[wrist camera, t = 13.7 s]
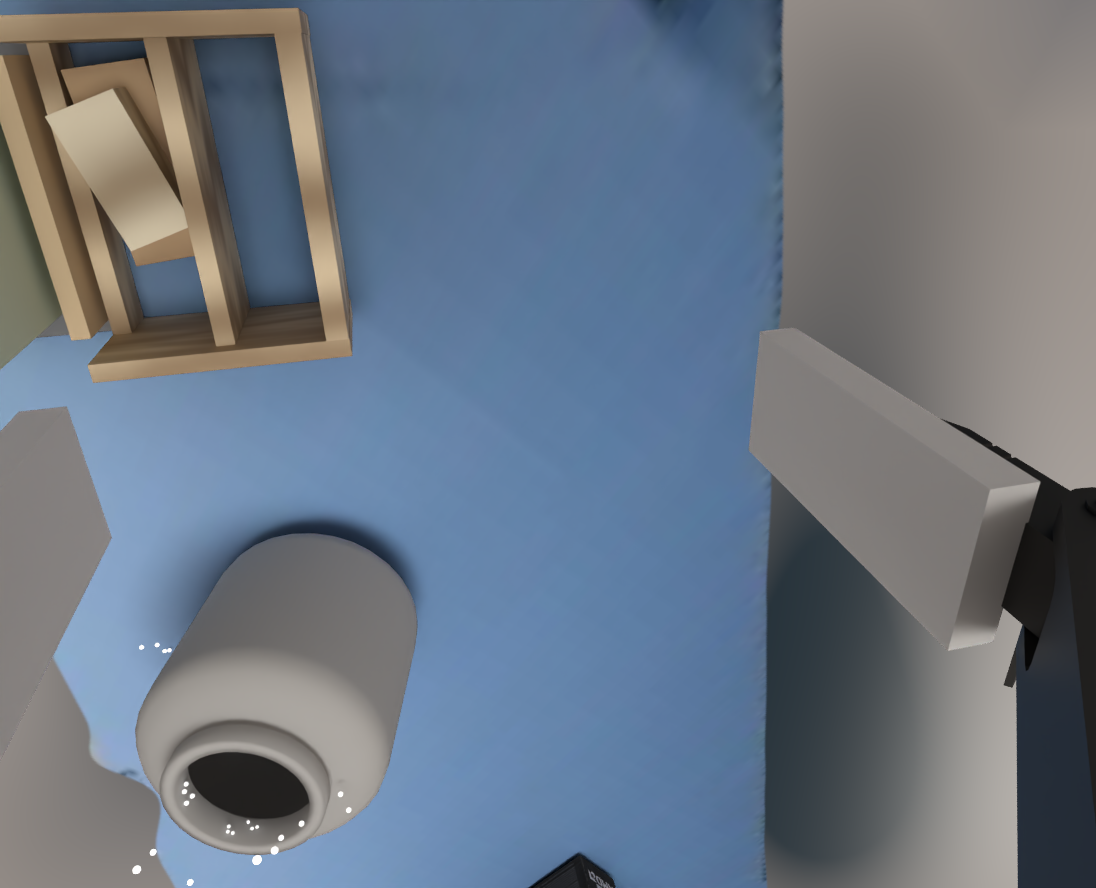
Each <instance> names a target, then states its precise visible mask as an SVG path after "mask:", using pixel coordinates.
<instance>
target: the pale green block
mask: <svg viewBox="0 0 1096 888" xmlns="http://www.w3.org/2000/svg"><path fill="white" fill-rule="evenodd" d="M62 314H63V313H62V310H61V307H60V304H59V300H58V297H57V294H56V291H55V288H54V285H53V282H52V279H51V276H50V273H49V270H48V267H47V264H46V261H45V258H44V255H43V251H42V248H41V245H40V242H39V239H38V236H37V233H36V230H35V227H34V224H33V221H32V218H31V215H30V212H29V209H28V206H27V203H26V199H25V196H24V193H23V190H22V187H21V184H20V181H19V178H18V175H17V172H16V169H15V166H14V163H13V160H12V157H11V154H10V150H9V147H8V144H7V141H6V138H5V135H4V132H3V129H2V126H1V123H0V369H2V368H3V367H4V366H5V365H6V364H7V363H8V362H9V361H10V360H12V359H13V358H14V357H15V356H16V355H17V354H18V353H19V352H21V351H22V350H23V349H24V348H25V347H26V346H27V345H28V344H29V343H31V342H32V341H33V340H34V339H35V338H36V337H37V336H38V335H39V334H41V333H42V332H43V331H44V330H45V329H46V328H47V327H48V326H50V325H51V324H52V323H53V322H54V321H55V320H56V319H57V318H58V317H60V316H61V315H62Z"/></svg>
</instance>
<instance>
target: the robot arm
mask: <svg viewBox="0 0 1096 888" xmlns="http://www.w3.org/2000/svg"><path fill="white" fill-rule="evenodd" d="M749 451H750V452H751V453H752V454H753V455H754V456H755V457H756V458H757V459H758V460H759V461H760V462H761V463H762V464H763V465H764V466H765V467H766V468H767V469H768V470H769V471H770V472H771V473H772V474H773V475H774V476H775V477H776V478H777V479H778V480H779V481H780V482H781V483H782V484H783V485H784V486H785V487H786V488H787V489H788V490H789V491H790V492H791V493H792V494H793V495H794V496H795V497H796V498H797V499H798V500H799V501H800V502H801V503H802V504H803V505H804V506H805V507H806V508H807V509H808V510H809V511H810V512H811V513H812V514H813V515H814V516H815V517H816V519H817V520H819V521H820V523H821V524H822V525H823V526H824V527H825V528H827V530H829V532H830V533H831V534H832V535H833V536H834V537H835V538H836V539H837V540H838V541H839V542H840V543H841V544H842V545H843V546H844V547H845V548H846V549H847V550H848V551H849V552H850V553H851V554H852V555H853V556H854V557H855V558H856V559H857V560H858V561H859V562H860V563H861V564H862V565H863V566H864V567H865V568H866V569H867V570H868V571H869V572H870V573H871V574H872V575H873V576H874V577H875V578H876V579H877V580H878V581H879V582H880V583H881V584H882V585H883V586H884V587H885V588H886V589H887V590H888V591H889V592H890V593H891V594H892V595H893V596H894V597H895V598H896V599H897V600H898V601H899V602H900V603H901V604H902V605H903V606H904V607H905V608H906V609H907V610H908V611H909V612H910V613H911V614H912V615H913V616H914V617H915V618H916V619H917V620H918V621H919V622H920V623H921V624H922V625H923V626H924V627H925V628H926V629H927V631H928V632H929V633H931V635H932V636H934V638H935V639H936V640H937V641H938V642H939V643H940V644H942V646H943V647H944V648H945V649H946V650H947V651H950V650H955V649H960V648H965V647H970V646H975V645H980V644H986V643H991V642H993V641H994V637H995V634H996V631H997V627H998V624H999V620H1000V617H1001V614H1002V610H1003V608H1004V609H1005V610H1007V611H1008V612H1009V613H1010V614H1011V615H1012V616H1013V617H1015V618H1016V619H1017V620H1018V621H1020V622H1021V623H1022V624H1023V625H1022V629H1021V632H1020V635H1019V638H1018V641H1017V644H1016V648H1015V651H1014V654H1013V657H1012V660H1011V664H1010V667H1009V670H1008V673H1007V676H1006V679H1005V683H1004V685H1005V686H1008V687H1013V685H1014V683H1015V681H1016V686H1017V687H1016V692H1017V693H1016V695H1017V696H1016V697H1017V822H1018V823H1017V826H1018V827H1017V831H1018V888H1096V488H1093V487H1091V488H1080V489H1074V490H1072V491H1070V490H1068V489H1066V488H1064V487H1063V486H1061V485H1060V484H1058V483H1057V482H1055V481H1053V480H1052V479H1050V478H1048V477H1047V476H1045V475H1043V474H1042V473H1040V472H1039V471H1037V470H1035V469H1034V468H1032V467H1030V466H1029V465H1027V464H1025V463H1024V462H1022V461H1020V460H1019V459H1017V458H1011V454H1009V453H1007V452H1006V451H1004V450H1002V449H1001V448H999V447H998V446H992V443H991V442H990V441H988V440H986V439H985V438H983V437H981V436H980V435H978V434H977V433H975V432H973V431H972V430H970V429H968V428H965V427H962V426H959V425H957V424H954V423H951V422H948V421H945V420H943V419H940V418H938V417H936V416H935V415H933V414H932V413H930V412H928V411H927V410H925V409H924V408H922V407H920V406H919V405H917V404H916V403H914V402H913V401H911V400H909V399H908V398H906V397H905V396H903V395H901V394H900V393H898V392H897V391H895V390H893V389H892V388H890V387H888V386H887V385H885V384H884V383H882V382H881V381H879V380H877V379H876V378H874V377H873V376H871V375H869V374H868V373H866V372H865V371H863V370H861V369H860V368H858V367H856V366H855V365H853V364H851V363H850V362H849V361H847V360H845V359H844V358H842V357H840V356H839V355H837V354H836V353H834V352H833V351H831V350H829V349H828V348H826V347H824V346H823V345H821V344H820V343H818V342H817V341H815V340H813V339H812V338H810V337H809V336H807V335H805V334H804V333H802V332H801V331H799V330H797V329H796V328H787V329H778V330H768V331H760V340H759V350H758V360H757V371H756V381H755V391H754V402H753V412H752V422H751V433H750V443H749ZM111 538H112V537H111V534H110V531H109V528H108V525H107V522H106V519H105V516H104V513H103V511H102V508H101V505H100V502H99V499H98V496H97V493H96V490H95V487H94V484H93V481H92V479H91V476H90V473H89V470H88V467H87V464H86V461H85V458H84V455H83V452H82V449H81V447H80V444H79V441H78V438H77V435H76V432H75V429H74V426H73V423H72V420H71V417H70V415H69V412H68V409H67V407H58V408H49V409H40V410H30V411H21V412H18V413H17V414H16V415H15V416H14V417H13V419H12V420H11V421H10V422H9V423H8V424H7V425H6V426H5V427H4V428H3V429H2V430H1V431H0V761H1V759H2V757H3V755H4V753H5V751H6V749H7V747H8V745H9V743H10V741H11V739H12V737H13V735H14V733H15V731H16V729H17V727H18V725H19V723H20V721H21V719H22V717H23V715H24V713H25V711H26V709H27V707H28V705H29V703H30V700H31V699H32V696H33V695H34V693H35V691H36V689H37V687H38V685H39V683H40V681H41V679H42V677H43V675H44V672H45V671H46V669H47V667H48V665H49V663H50V660H51V659H52V657H53V655H54V653H55V651H56V649H57V647H58V645H59V643H60V641H61V639H62V637H63V635H64V633H65V631H66V629H67V627H68V625H69V623H70V621H71V619H72V617H73V615H74V613H75V611H76V609H77V607H78V605H79V603H80V601H81V599H82V597H83V595H84V593H85V591H86V589H87V587H88V585H89V583H90V581H91V579H92V577H93V575H94V573H95V571H96V569H97V566H98V564H99V562H100V560H101V558H102V556H103V554H104V552H105V550H106V548H107V546H108V544H109V542H110V540H111Z"/></svg>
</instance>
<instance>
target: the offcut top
mask: <svg viewBox="0 0 1096 888" xmlns="http://www.w3.org/2000/svg"><path fill="white" fill-rule="evenodd" d="M45 118H46V120H47V121H48V123H49V124H50V126H51V127H52V129H53V131H54V132H55V134H56V135H57V137H58V138H59V140H60V142H61V143H62V145H63V146H64V148H65V149H66V151H67V152H68V154H69V156H70V157H71V159H72V160H73V162H74V163H75V165H76V166H77V168H78V170H79V171H80V173H81V174H82V176H83V177H84V179H85V180H86V182H87V184H88V185H89V187H90V188H91V190H92V191H93V193H94V194H95V196H96V198H97V199H98V201H99V202H100V204H101V205H102V207H103V208H104V210H105V212H106V213H107V215H108V216H109V218H110V219H111V221H112V222H113V224H114V226H115V227H116V229H117V230H118V232H119V233H120V235H121V236H122V238H123V240H124V241H125V243H126V244H127V246H128V247H129V249H130V250H131V251H133V250H136V249H138V248H140V247H143V246H145V245H148V244H150V243H152V242H155V241H157V240H160V239H162V238H164V237H167V236H169V235H172V234H174V233H176V232H179V231H181V230H183V229H186V228H188V225H187V221H186V217H185V213H184V209H183V204H182V200H181V196H180V192H179V188H178V183H177V179H176V175H175V171H174V169H173V168H172V166H171V164H170V162H169V161H168V159H167V157H166V155H165V154H164V152H163V150H162V149H161V147H160V145H159V143H158V142H157V140H156V138H155V137H154V135H153V133H152V131H151V130H150V128H149V126H148V124H147V123H146V121H145V119H144V118H143V116H142V114H141V112H140V111H139V109H138V107H137V106H136V104H135V102H134V100H133V99H132V97H131V95H130V94H129V92H128V90H127V88H126V87H120V88H113V89H110V90H108V91H105V92H103V93H101V94H98V95H96V96H93V97H91V98H88V99H86V100H84V101H81V102H79V103H76V104H74V105H71V106H69V107H67V108H64V109H62V110H59V111H57V112H54V113H52V114H50V115H47V116H45Z"/></svg>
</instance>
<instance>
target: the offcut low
mask: <svg viewBox="0 0 1096 888" xmlns="http://www.w3.org/2000/svg"><path fill="white" fill-rule="evenodd" d="M61 73H62V75H63V78H64V80H65V83H66V86H67V88H68V91H69V93H70V96H71V98H72V101H73V104H76V103H79V102H81V101H84V100H86V99H88V98H91V97H93V96H96V95H98V94H101V93H103V92H105V91H108V90H110V89H113V88H120V87H126V88H127V90H128V92H129V94H130V95H131V97H132V99H133V100H134V102H135V104H136V106H137V107H138V109H139V111H140V112H141V114H142V116H143V118H144V119H145V121H146V123H147V124H148V126H149V128H150V130H151V131H152V133H153V135H154V137H155V138H156V140H157V142H158V143H159V145H160V147H161V149H162V150H163V152H164V154H165V155H166V157H167V159H168V161H169V162H170V164H171V166H172V168H173V169H174V167H173V162H172V158H171V154H170V150H169V146H168V141H167V137H166V133H165V129H164V125H163V120H162V116H161V112H160V108H159V104H158V100H157V95H156V91H155V87H154V83H153V79H152V74H151V70H150V66H149V62H148V58H139V59H132V60H125V61H118V62H112V63H105V64H98V65H91V66H84V67H77V68H71V69H64V70H61ZM130 251H131V250H130ZM131 253H132V256H133V258H134V261H135V264H136V266H141V265H147V264H152V263H158V262H163V261H169V260H175V259H180V258H186V257H191V256H195V255H194V251H193V246H192V242H191V238H190V234H189V230H188V228H186V229H183V230H181V231H179V232H176V233H174V234H172V235H169V236H167V237H164V238H162V239H160V240H157V241H155V242H152V243H150V244H148V245H145V246H143V247H140V248H138V249H136V250H133V251H131Z"/></svg>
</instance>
